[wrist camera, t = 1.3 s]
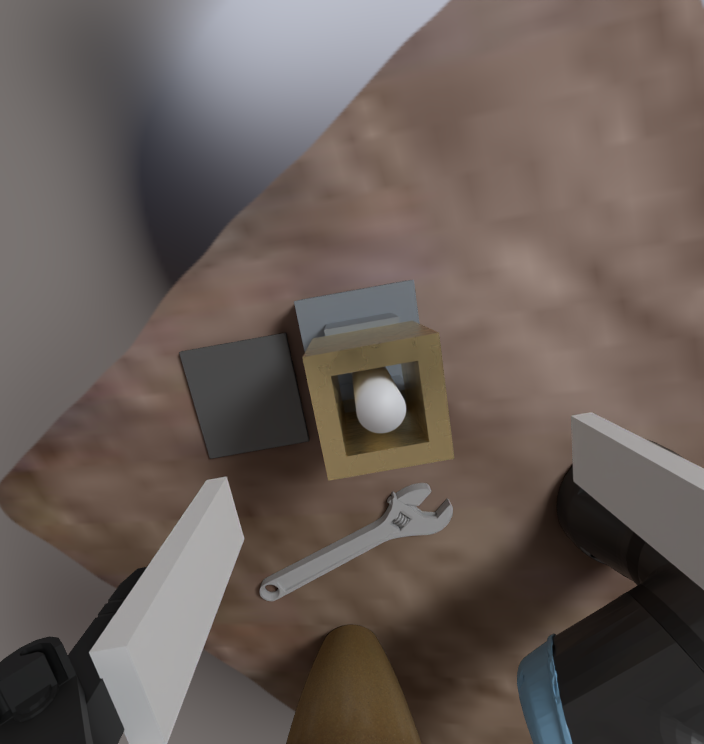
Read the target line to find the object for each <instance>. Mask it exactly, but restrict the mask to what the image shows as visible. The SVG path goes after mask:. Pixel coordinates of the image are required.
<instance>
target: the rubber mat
mask: <svg viewBox="0 0 704 744" xmlns="http://www.w3.org/2000/svg"><path fill="white" fill-rule="evenodd" d="M179 354H180V357H181V361H182V364H183V367H184V371H185V374H186V378H187V381H188V385H189V388H190V392H191V395H192V399H193V402H194V405H195V409H196V412H197V416H198V419H199V423H200V426H201V430H202V433H203V436H204V440H205V443H206V447H207V450H208V454H209V457H210V459H211V458H217V457H223V456H228V455H234V454H240V453H245V452H251V451H257V450H262V449H268V448H274V447H279V446H285V445H291V444H296V443H302V442H308V441H309V436H308V431H307V427H306V422H305V418H304V413H303V409H302V404H301V399H300V395H299V390H298V386H297V381H296V376H295V372H294V367H293V363H292V358H291V354H290V349H289V344H288V340H287V335H286V333H281V334H276V335H270V336H265V337H259V338H253V339H248V340H242V341H237V342H231V343H226V344H220V345H214V346H209V347H203V348H198V349H192V350H187V351H181V352H179Z"/></svg>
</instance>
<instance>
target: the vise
mask: <svg viewBox="0 0 704 744" xmlns="http://www.w3.org/2000/svg"><path fill="white" fill-rule="evenodd" d="M294 304H295V309H296V313H297V318H298V323H299V328H300V332H301V337H302V342H303V347H304V352H306V350H307V348H308V346H309V344H310V342H311V341H312V339H313V338H318V337H324V336H329V335H335V334H341V333H346V332H352V331H357V330H363V329H368V328H374V327H380V326H385V325H391V324H396V323H402V322H407V321H414V322H416V323H419V317H418V309H417V302H416V294H415V286H414V280H408V281H402V282H396V283H391V284H385V285H380V286H374V287H369V288H363V289H358V290H352V291H346V292H341V293H335V294H330V295H324V296H319V297H313V298H308V299H302V300H298V301H294ZM338 379H339V385H340V390H341V395H342V400H343V406H344V411H345V413H349V412H354V411H356V413H357V417H358V420H359V422H360V423H361V425H362V426H363V427H364V428H366V429H367V430H369V431H371V432H374V433H387V432H390V431H392V430H394V429H396V428H397V427H398V426H399V425H400V424H401V423H402V421H403V419H404V417H405V414H406V404H405V402H406V395H405V389H404V382H403V375H402V368H401V364H396V365H391V366H385V367H380V368H374V369H368V370H363V371H357V372H352V373H346V374H340V375H338Z"/></svg>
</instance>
